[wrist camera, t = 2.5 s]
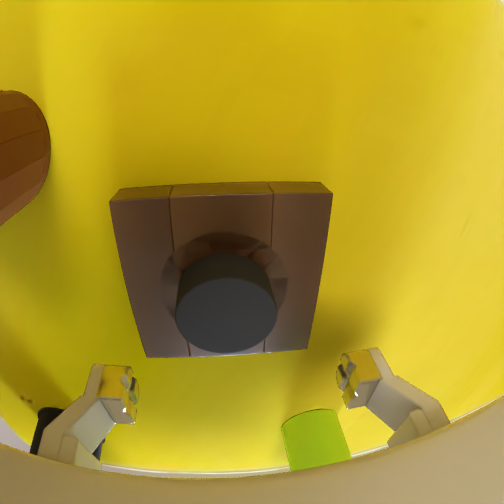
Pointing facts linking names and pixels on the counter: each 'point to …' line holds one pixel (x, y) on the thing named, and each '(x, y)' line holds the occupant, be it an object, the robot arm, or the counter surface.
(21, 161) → the bottle
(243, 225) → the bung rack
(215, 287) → the cylinder
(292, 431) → the soap dispenser
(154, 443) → the counter surface
